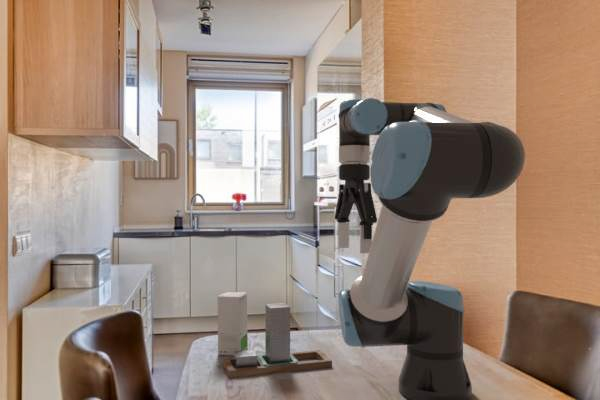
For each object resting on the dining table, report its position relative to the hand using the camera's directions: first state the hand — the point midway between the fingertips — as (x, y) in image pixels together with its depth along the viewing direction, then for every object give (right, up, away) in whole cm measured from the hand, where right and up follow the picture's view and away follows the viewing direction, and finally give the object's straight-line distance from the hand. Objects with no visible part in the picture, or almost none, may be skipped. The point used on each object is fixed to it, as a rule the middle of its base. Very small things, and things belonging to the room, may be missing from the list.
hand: (354, 250), depth 123 cm
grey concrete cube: (-27, -29, -2) cm, 39 cm away
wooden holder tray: (-19, -29, 0) cm, 34 cm away
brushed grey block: (-19, -29, 0) cm, 34 cm away
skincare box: (-32, -29, +12) cm, 45 cm away
